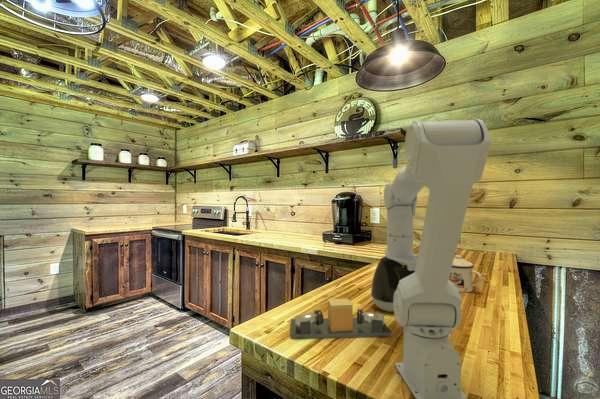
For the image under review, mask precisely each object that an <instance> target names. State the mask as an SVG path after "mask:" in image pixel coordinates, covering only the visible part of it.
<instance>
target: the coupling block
mask: <svg viewBox="0 0 600 399" xmlns="http://www.w3.org/2000/svg"><path fill="white" fill-rule="evenodd" d="M353 306H354V305H353V303H352V302H351V301H350V299H349V298H334V299H333V298H332V299H327V318H328V325H329V327H330V330H331V332H336V331H353V318H354V315H353V314H354V313H353V312H354V311H353V310H354V309H353Z"/></svg>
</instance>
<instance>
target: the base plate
mask: <svg viewBox="0 0 600 399" xmlns="http://www.w3.org/2000/svg"><path fill="white" fill-rule="evenodd" d="M385 337H386V338H387V337H392V331H391V330H390V328H389V327H388V326H387V324H386V323H385V322H384V325H383V333H376V332H372V324H370V323H363V322H362V324H357V317H353V331H336V332H331V330H330V327H329V325H328V317H326V318H324V317H323V324H321V325H316V324H311V325H310V333H309V334H304V335H300V334H299V333H298V331H297V330H296V323H295V318H291V319H290V339H291V340H294V339H295V340H297V339H298V340H299V339H300V340H302V339H345V338H348V339H349V338H385Z"/></svg>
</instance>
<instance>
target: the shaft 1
mask: <svg viewBox="0 0 600 399" xmlns="http://www.w3.org/2000/svg"><path fill="white" fill-rule="evenodd" d="M323 318H324V315H323V312H322V310H320V309H317V310H314V312H309V313H305V314H300V315H295V316H294V319H295V323H296V330H297V331H298V333H299V334H300V335H304V334H309V333H310V325H311V324H316V325H321V324H323Z"/></svg>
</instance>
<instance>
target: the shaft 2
mask: <svg viewBox="0 0 600 399" xmlns="http://www.w3.org/2000/svg"><path fill="white" fill-rule="evenodd" d="M356 318H357V324H362V322H363V323H370V324H372V332H376V333H383V325H384V323H385V314H384V313H378V312H370V311H368V312H367V311H363V309H359V308H357V313H356Z"/></svg>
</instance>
